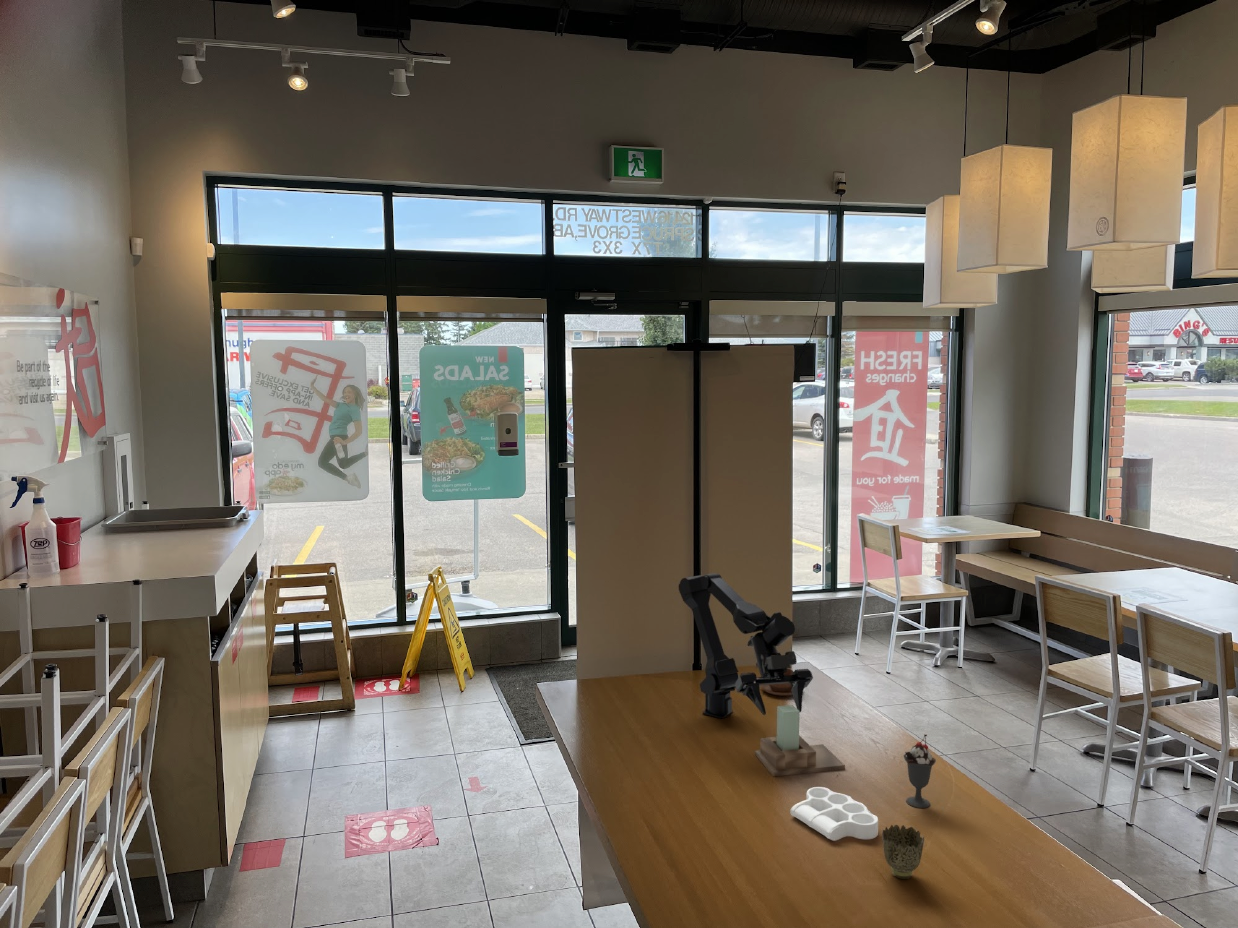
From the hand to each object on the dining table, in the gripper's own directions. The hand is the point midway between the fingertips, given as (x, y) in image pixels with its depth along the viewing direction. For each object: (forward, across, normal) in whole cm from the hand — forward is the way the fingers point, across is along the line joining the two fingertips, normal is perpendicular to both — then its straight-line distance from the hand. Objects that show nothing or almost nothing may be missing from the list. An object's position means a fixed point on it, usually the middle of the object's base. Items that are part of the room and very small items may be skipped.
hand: (782, 713), depth 210 cm
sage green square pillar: (+10, 0, +5) cm, 11 cm away
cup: (+45, +2, -29) cm, 53 cm away
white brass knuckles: (+30, -1, -14) cm, 33 cm away
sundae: (+27, +20, -12) cm, 36 cm away
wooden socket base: (+10, +3, +5) cm, 12 cm away
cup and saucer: (-22, +17, +38) cm, 47 cm away
